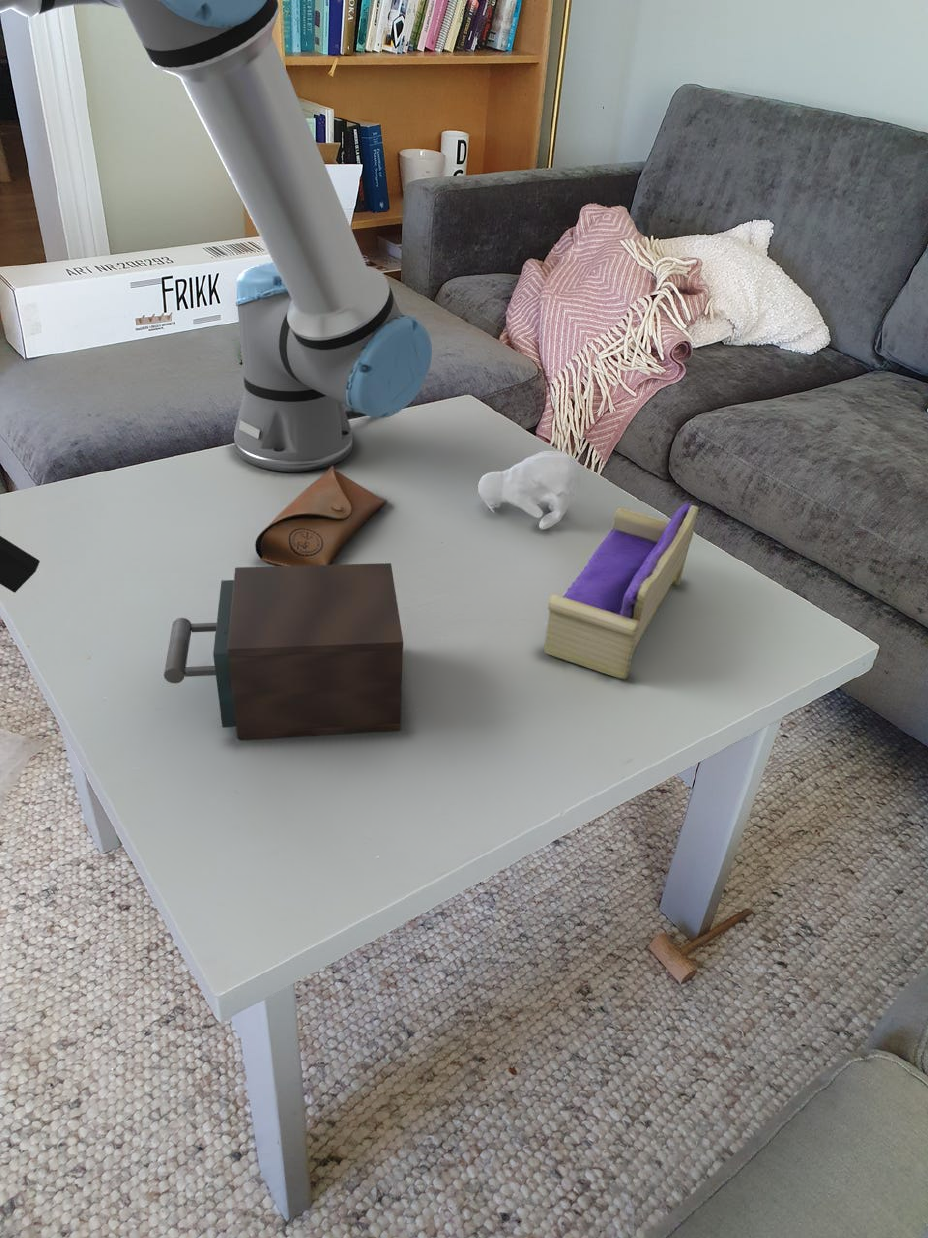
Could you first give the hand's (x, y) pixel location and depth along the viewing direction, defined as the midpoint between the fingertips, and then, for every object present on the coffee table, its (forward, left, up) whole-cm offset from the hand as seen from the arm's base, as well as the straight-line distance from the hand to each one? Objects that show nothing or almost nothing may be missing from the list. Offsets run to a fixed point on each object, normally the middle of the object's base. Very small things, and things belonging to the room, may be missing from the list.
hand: (27, 576), depth 71 cm
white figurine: (-56, -3, -13) cm, 58 cm away
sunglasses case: (-34, -13, -13) cm, 39 cm away
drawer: (-16, +9, -12) cm, 22 cm away
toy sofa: (-50, +18, -13) cm, 55 cm away
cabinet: (-19, +11, -13) cm, 25 cm away
